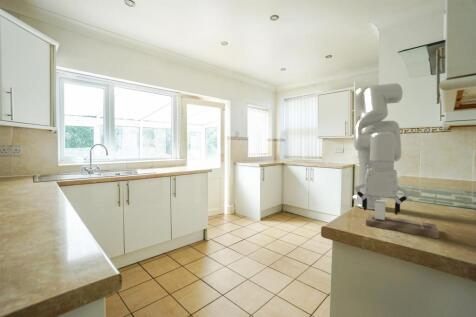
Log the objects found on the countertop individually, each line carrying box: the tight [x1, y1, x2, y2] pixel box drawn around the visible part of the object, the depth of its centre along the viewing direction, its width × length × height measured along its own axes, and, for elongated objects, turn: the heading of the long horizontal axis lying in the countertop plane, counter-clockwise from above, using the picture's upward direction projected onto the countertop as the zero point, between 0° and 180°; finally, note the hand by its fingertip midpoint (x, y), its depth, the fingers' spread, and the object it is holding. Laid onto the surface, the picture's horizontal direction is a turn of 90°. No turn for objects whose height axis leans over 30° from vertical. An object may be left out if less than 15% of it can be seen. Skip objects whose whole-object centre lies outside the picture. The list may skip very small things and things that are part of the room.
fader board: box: [365, 213, 440, 239], centre depth 79 cm, size 20×9×2 cm, turn 53°
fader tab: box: [374, 199, 387, 220], centre depth 82 cm, size 3×5×6 cm, turn 143°
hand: (380, 211), depth 82 cm, fingers open, 9 cm apart
